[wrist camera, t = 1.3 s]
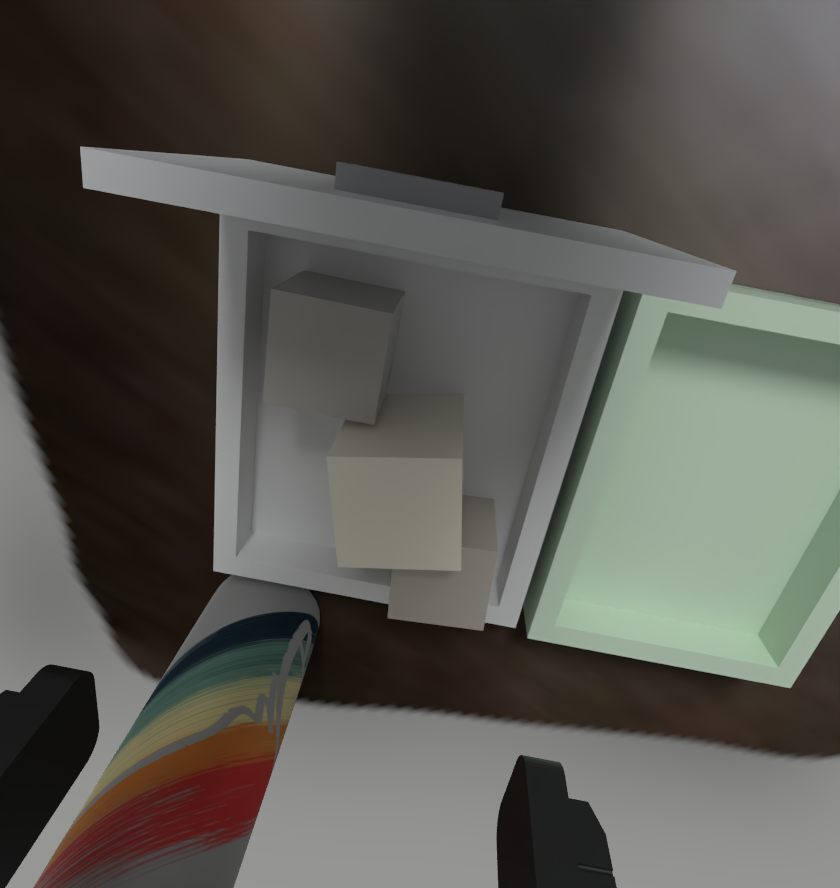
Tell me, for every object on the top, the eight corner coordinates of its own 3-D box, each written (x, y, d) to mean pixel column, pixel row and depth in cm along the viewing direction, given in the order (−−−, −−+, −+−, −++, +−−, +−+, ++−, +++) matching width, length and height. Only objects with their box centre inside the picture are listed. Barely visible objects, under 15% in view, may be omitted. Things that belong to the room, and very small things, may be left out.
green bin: (625, 263, 22) (648, 276, 19) (940, 323, 22) (1007, 344, 19) (521, 594, 28) (527, 638, 26) (759, 639, 28) (790, 688, 26)
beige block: (358, 393, 24) (326, 456, 19) (464, 394, 24) (462, 458, 18) (365, 485, 26) (337, 566, 20) (463, 487, 26) (461, 571, 20)
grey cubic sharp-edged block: (303, 269, 22) (270, 288, 18) (405, 291, 22) (392, 314, 19) (294, 368, 24) (262, 402, 20) (388, 387, 24) (373, 425, 20)
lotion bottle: (341, 633, 30) (153, 1300, 12) (251, 660, 32) (-36, 1297, 14) (288, 550, 28) (-30, 1203, 10) (195, 583, 30) (-230, 1210, 12)
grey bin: (246, 191, 22) (220, 193, 19) (613, 261, 22) (629, 271, 19) (233, 539, 28) (213, 571, 26) (511, 592, 28) (515, 628, 26)
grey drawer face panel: (248, 141, 21) (77, 113, 12) (627, 213, 21) (748, 241, 12) (246, 183, 21) (83, 187, 12) (615, 252, 21) (721, 309, 12)
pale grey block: (405, 488, 26) (394, 538, 22) (493, 498, 26) (498, 551, 22) (398, 560, 28) (387, 618, 24) (481, 570, 27) (482, 630, 24)
